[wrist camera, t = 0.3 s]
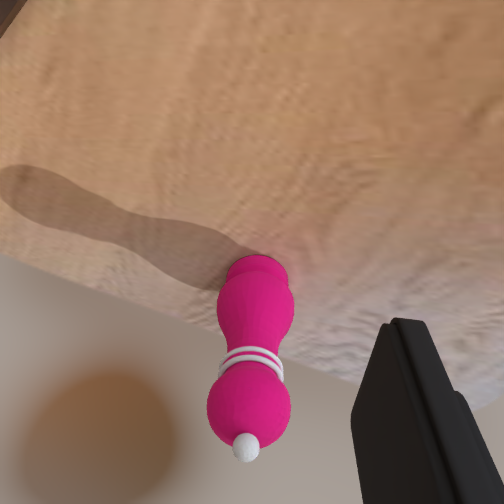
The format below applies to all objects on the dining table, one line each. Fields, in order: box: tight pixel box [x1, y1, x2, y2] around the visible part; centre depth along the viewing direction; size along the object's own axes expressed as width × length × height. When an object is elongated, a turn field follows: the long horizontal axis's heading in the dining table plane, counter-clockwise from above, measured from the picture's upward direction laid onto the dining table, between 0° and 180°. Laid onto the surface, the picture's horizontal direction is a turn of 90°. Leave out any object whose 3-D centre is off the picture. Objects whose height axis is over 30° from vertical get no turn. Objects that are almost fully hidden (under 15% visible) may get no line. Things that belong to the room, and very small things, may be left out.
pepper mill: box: [207, 255, 294, 462], centre depth 37 cm, size 7×7×20 cm
